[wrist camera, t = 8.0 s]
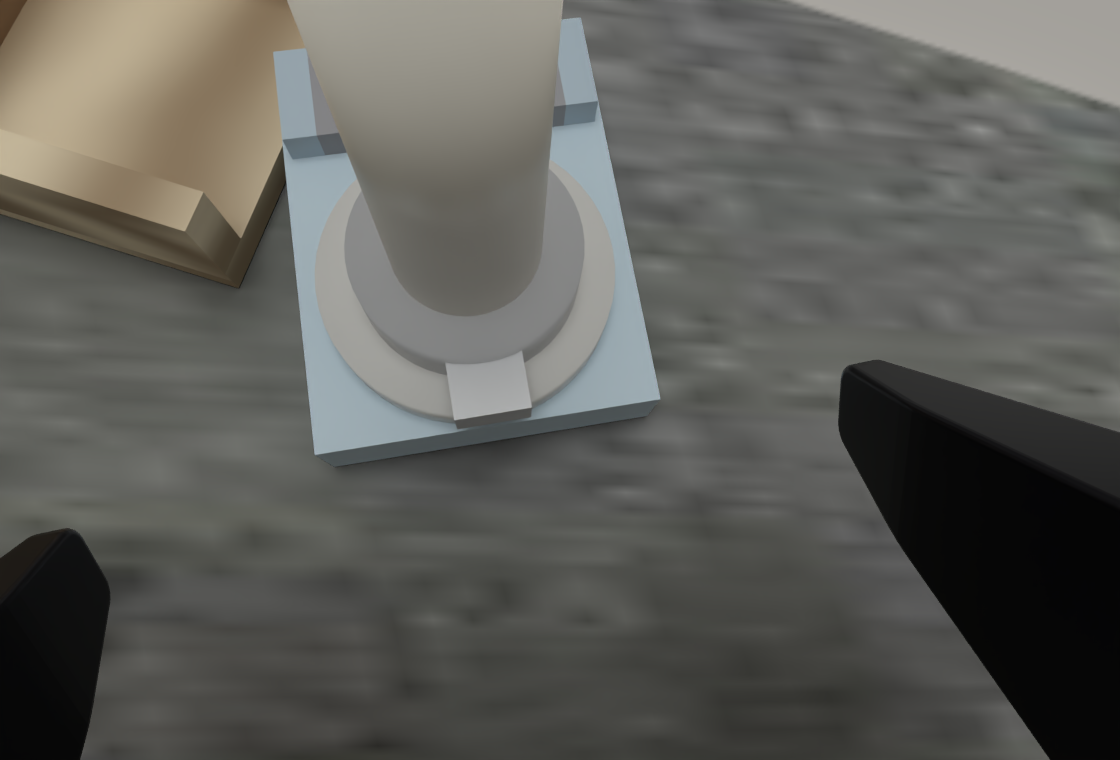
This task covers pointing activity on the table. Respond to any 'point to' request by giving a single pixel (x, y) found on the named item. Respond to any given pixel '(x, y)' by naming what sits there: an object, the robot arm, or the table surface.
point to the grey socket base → (421, 395)
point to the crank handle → (453, 184)
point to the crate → (9, 15)
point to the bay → (147, 126)
